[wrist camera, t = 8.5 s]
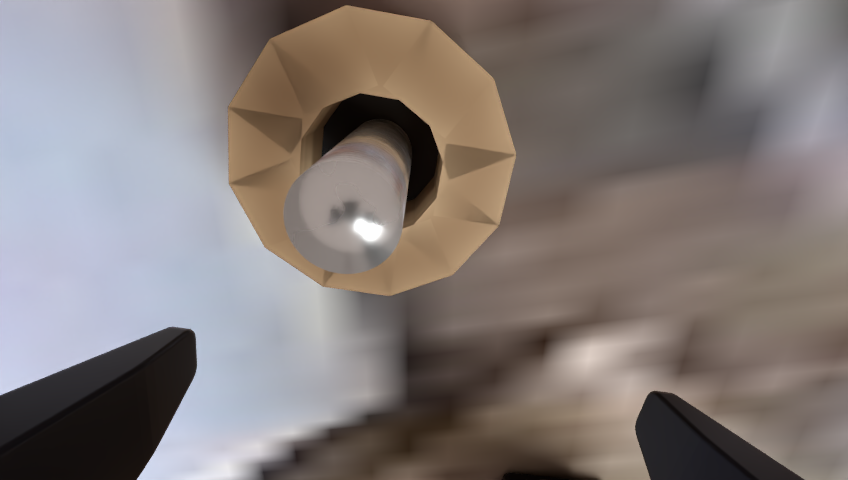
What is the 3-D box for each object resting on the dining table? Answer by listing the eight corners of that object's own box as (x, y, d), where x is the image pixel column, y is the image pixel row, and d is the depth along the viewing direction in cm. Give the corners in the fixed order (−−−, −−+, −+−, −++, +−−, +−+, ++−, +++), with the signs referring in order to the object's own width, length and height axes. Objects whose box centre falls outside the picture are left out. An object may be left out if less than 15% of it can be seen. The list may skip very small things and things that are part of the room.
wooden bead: (469, 270, 20) (478, 309, 17) (261, 240, 20) (229, 273, 16) (520, 47, 17) (544, 41, 13) (266, 0, 16) (226, -17, 13)
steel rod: (407, 188, 19) (394, 281, 10) (345, 178, 19) (281, 264, 10) (417, 124, 18) (411, 172, 9) (351, 113, 18) (285, 151, 9)
